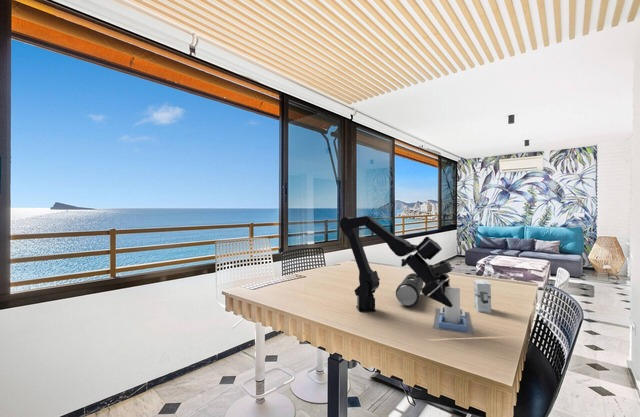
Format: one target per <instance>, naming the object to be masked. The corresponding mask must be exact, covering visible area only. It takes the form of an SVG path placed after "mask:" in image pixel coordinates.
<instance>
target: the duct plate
mask: <svg viewBox="0 0 640 417" xmlns="http://www.w3.org/2000/svg"><path fill="white" fill-rule="evenodd" d="M472 325H473V324H472V320H471V316H470V312H469V311H465V308H460V325H458V324H451V323H445V306H440V308H437V307H436V308H435V314H434V319H433V325H432V329H434V330H439V331H440V330H441V331H446V332H452V333H461V334H467V335H468V334H469V335H474V330H473V326H472Z"/></svg>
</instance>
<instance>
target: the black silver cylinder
mask: <svg viewBox="0 0 640 417" xmlns="http://www.w3.org/2000/svg"><path fill="white" fill-rule="evenodd" d="M416 276H417V274H416V273H415V272H413V273H409V274H407V275H406V276H405V278H404V279H403V280H402V282H401V283H399V284H398V286H397V288H396V290H395V296H396V299H397V301H398V302H399V303H400V304H402V305H404V306H406V307H407V306H409V307H412V306H414V305H416V304H417V303H418V301H419V300H420V297H421V293H422V292H421V289H422V288H423V287H424V282H423V281H422V280H421V279H420V278H417V277H416Z"/></svg>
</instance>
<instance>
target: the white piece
mask: <svg viewBox="0 0 640 417" xmlns="http://www.w3.org/2000/svg"><path fill="white" fill-rule="evenodd" d="M445 295H446V296H447V298H448V299H449V301H450V302H451V303H452V305H453V306H452V307H451V308H450V307H448V306H446V305H444V307H445V323H451V324H458V325H460V309H461V289H460V288H459V287H455V286H450V287H445Z"/></svg>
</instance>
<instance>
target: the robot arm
mask: <svg viewBox="0 0 640 417" xmlns="http://www.w3.org/2000/svg"><path fill="white" fill-rule="evenodd" d="M338 224H339V227H340V229H341V231H342V234H343V235H344V236H345V237H346V238H347V239H348V243H349V245H350V248H351V251H352V254H353V257H354V259H355V262H356V265H357V269H358V273H359V274H358V282H359V285H358V286H357V287H356V288H355V289H354V294H355V296H357V298H356V303H357V305H356V309H357V310H358V312H375V311H376V298H375V295H374V294H375V292H376V290H377V289H379V286H380V280H381V278H380V277H379V275H378V271H377V270H373V269H372V267H370V264H369V261H368V258H367V256H366V252H365V249H364V247H363V243H362V241H361V238H360V227H364V226H365V227H366V229H368V230H370V231H371V232H372V233H373V234H374V235H376V236H377V237H378V238H380V239H381V240H382V241H384V243H386V244H387V246H388V248H389V249H390V250H391V251H392V252H393V254H394V255H396V257H405V256H407V257H406V258H402V259H401V265H400V267H402V268H403V267H405V266H408V267H409V268H410V270H412V271H413V273H415V274H417V276H416V277H417V278H420V279H421V280H422V281H423V287H422V289H421V292H420V293H421V294H422V295H423V296H424V298H426V297H427V298H428V299H432V300H434V301H435V302H438V303H440V304H442V305H444V306H445V305H446V306H448V307H450V308H451V307H452V306H453V305H452V303H451V302H450V301H449V299H448V298H447V296H446V295H445V287H451V284H450V281H451V278H450V276H449V275H448V273H451V272H452V271H453V268H452V264H451V263H450V262H449V261H446V260H445V259H444V260H441V261H439V264H438V265H435V266H434V265H433V264H429V263H428V262H427V260H429V261H431V260H432V259H433V258H434V257H436V256H437V255H438V254H439V253H440V252H441V251H442V249H443V248H442V247H441V245H440V244H439V243H438V242H436V241H435V240H433V239H432V238H430V237H429V236H425V237H424V238H423V239H422V241H420V242H419V244H412V243H411V242H410V241H409V240H407V239H405V238H402V237H400V236H397V235H395V234H394V233H392V232H391V231H389V230H388V229H387V228H386V227H384V226H383V225H382V224H381V223H379V222H378V221H377V220H375V219H374V218H373V217H372V216H371V215H362V216H358V217H357V216H356V217H353V216H345V217H342V218H341V219H340V221H339V223H338ZM414 252H415V253H414ZM411 253H414V254H411Z"/></svg>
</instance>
